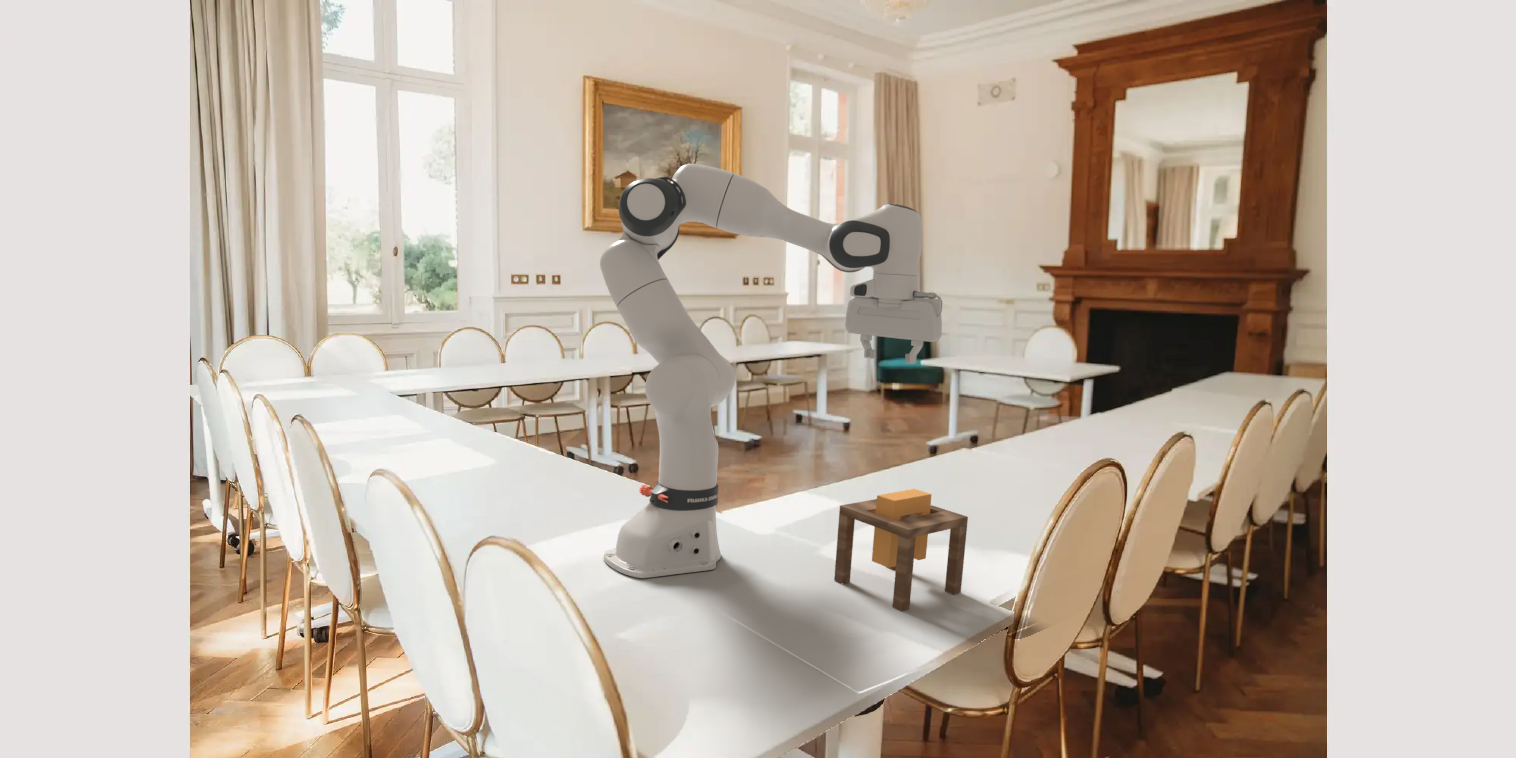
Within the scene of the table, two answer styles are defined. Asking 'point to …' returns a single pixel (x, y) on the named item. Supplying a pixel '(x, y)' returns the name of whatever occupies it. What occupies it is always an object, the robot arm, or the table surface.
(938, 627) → the table surface
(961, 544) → the brown stool
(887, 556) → the orange arch brick
